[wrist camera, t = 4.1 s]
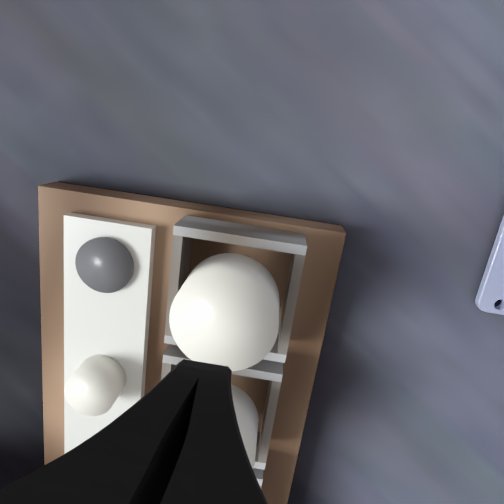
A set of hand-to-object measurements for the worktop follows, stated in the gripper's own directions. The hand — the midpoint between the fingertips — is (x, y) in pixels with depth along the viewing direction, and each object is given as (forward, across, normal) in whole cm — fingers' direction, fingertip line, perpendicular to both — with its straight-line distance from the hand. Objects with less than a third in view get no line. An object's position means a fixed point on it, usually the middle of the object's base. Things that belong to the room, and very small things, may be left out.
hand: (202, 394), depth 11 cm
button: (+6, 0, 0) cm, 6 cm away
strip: (+8, +6, +6) cm, 12 cm away
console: (+10, +2, +6) cm, 12 cm away
